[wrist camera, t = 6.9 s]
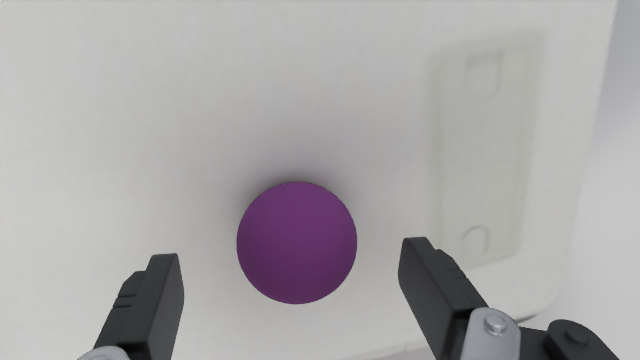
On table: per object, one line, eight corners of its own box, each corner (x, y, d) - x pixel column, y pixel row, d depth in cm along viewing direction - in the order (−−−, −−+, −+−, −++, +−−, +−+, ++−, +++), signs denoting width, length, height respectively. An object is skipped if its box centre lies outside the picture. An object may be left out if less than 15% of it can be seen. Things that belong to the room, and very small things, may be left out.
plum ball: (346, 161, 16) (377, 219, 12) (341, 249, 18) (365, 325, 14) (235, 164, 15) (226, 227, 11) (243, 256, 18) (237, 338, 13)
